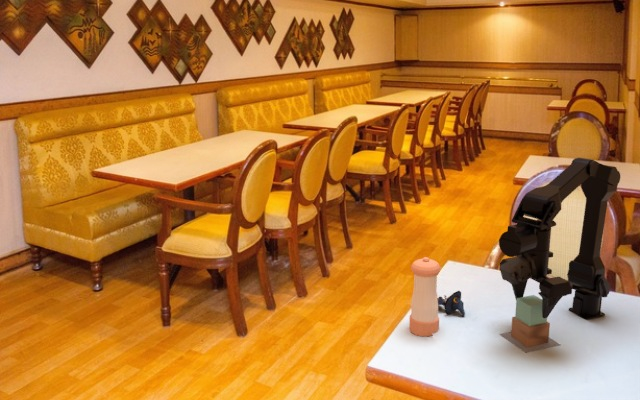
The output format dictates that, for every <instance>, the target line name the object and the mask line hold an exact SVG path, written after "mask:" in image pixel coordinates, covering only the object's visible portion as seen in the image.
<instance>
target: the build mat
mask: <svg viewBox="0 0 640 400" xmlns="http://www.w3.org/2000/svg"><path fill="white" fill-rule="evenodd" d="M498 335H499V336H501V337H502V338H503V339H505V340H506V341H508V342H509V343H511V344H512V345H514V346H515V347H517V348H518V349H519V350H520V351H522V352H524V353H525V354H528V353H532V352H537V351H542V350H545V349H551V348H554V347H559V346H561V345H562V344H561V343H559V342H558V341H557V340H556V341H555V340H554V339H553V338H551V337H549V340H548V343H544V344H540V345H536V346H531V347H526V346H525V345H523V344H522V343H520V342H519V341H517V340H516V339H514V338H513V337H511V331H507V332H503V333H499V334H498Z"/></svg>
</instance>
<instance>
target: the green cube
mask: <svg viewBox="0 0 640 400" xmlns="http://www.w3.org/2000/svg"><path fill="white" fill-rule="evenodd" d="M515 301H516V302H515V315H514V317H515V318H517V319H518V320H520V321H521V322H523V323H525V324H526V325H528V326H533V325H538V324H543V323H547V322H548V317H547V318H543V317H542V298H540V297H539V296H536V295H534V294H532V295H531V294H530V295H526V296H523V297H521V298H517V299H516V298H515Z"/></svg>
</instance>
